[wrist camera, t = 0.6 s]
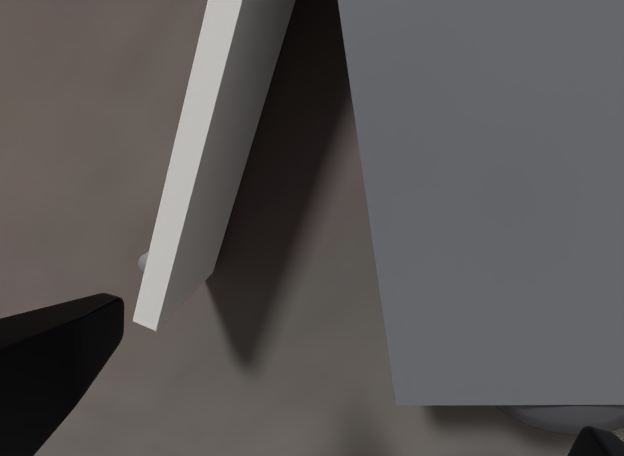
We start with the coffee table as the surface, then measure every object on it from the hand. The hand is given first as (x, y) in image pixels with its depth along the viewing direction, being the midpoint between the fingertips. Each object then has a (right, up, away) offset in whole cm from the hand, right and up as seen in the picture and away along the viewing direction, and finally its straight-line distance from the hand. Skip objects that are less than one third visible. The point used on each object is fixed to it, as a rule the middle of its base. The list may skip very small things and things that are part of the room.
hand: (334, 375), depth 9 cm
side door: (-3, +8, +11) cm, 14 cm away
